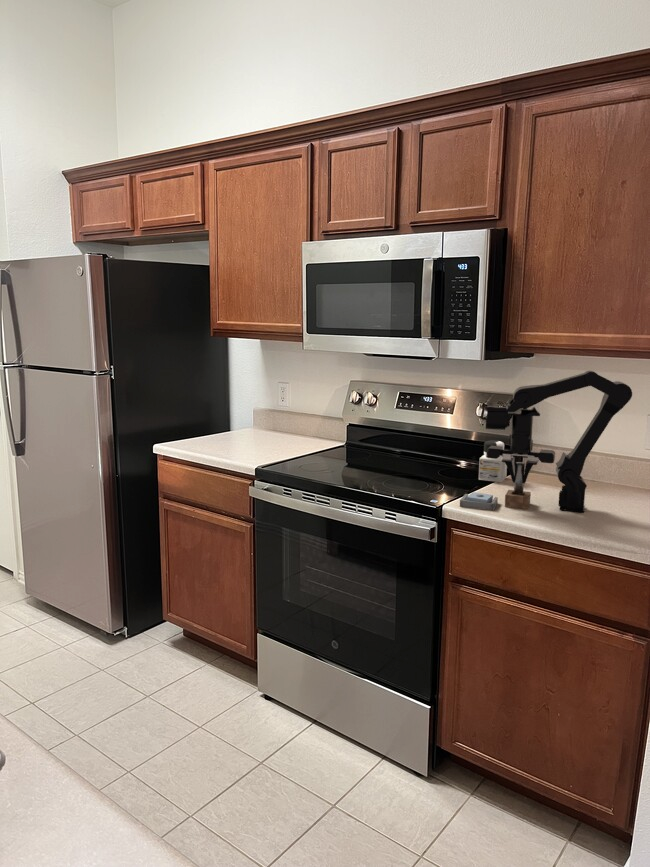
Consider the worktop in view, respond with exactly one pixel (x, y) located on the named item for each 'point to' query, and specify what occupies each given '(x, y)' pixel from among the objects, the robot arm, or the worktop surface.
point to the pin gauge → (519, 477)
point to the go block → (517, 499)
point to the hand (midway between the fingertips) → (519, 482)
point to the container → (492, 465)
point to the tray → (478, 503)
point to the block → (480, 497)
